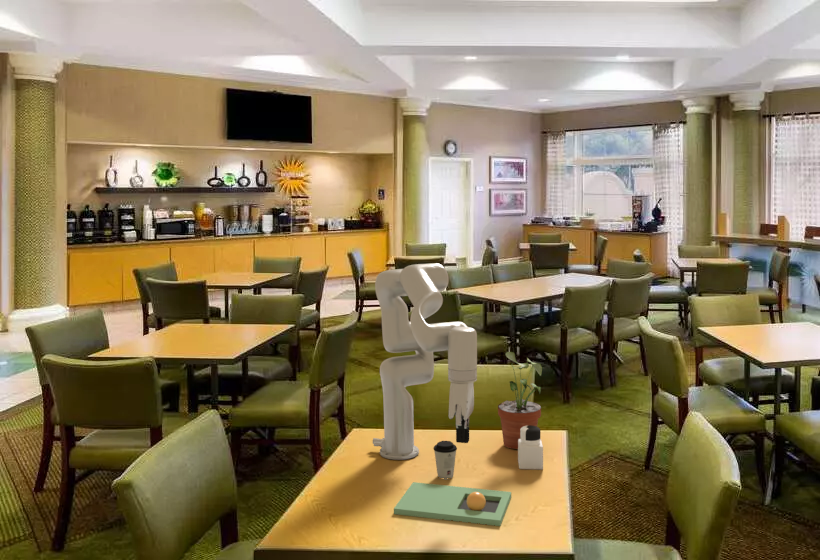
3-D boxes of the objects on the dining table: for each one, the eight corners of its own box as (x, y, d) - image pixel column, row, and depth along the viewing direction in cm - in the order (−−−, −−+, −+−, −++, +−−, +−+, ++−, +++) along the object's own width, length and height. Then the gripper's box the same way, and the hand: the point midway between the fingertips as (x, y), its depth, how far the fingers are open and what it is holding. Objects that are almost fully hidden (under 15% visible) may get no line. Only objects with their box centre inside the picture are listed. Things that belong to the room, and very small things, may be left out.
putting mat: (393, 513, 188) (393, 508, 188) (413, 487, 206) (413, 482, 205) (500, 526, 180) (500, 520, 180) (511, 497, 198) (511, 492, 197)
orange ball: (477, 519, 187) (464, 507, 186) (473, 508, 192) (461, 497, 190) (491, 506, 186) (478, 494, 185) (487, 496, 191) (474, 484, 190)
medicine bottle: (541, 461, 224) (541, 423, 223) (543, 469, 217) (543, 431, 216) (517, 460, 225) (518, 423, 223) (519, 469, 218) (519, 430, 216)
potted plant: (534, 456, 228) (534, 347, 224) (490, 448, 236) (490, 343, 232) (552, 442, 241) (552, 339, 237) (509, 434, 249) (509, 335, 245)
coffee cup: (455, 481, 209) (455, 448, 208) (431, 480, 210) (431, 447, 209) (458, 472, 216) (458, 440, 215) (435, 471, 217) (435, 439, 216)
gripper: (455, 366, 197) (455, 431, 200) (441, 380, 183) (442, 450, 185) (482, 368, 195) (482, 433, 197) (470, 382, 181) (470, 453, 183)
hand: (462, 441), depth 191 cm, fingers closed
